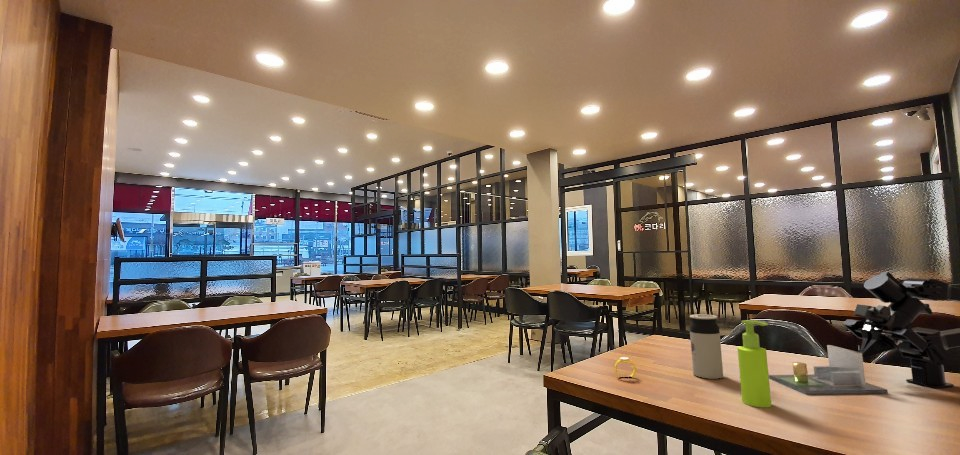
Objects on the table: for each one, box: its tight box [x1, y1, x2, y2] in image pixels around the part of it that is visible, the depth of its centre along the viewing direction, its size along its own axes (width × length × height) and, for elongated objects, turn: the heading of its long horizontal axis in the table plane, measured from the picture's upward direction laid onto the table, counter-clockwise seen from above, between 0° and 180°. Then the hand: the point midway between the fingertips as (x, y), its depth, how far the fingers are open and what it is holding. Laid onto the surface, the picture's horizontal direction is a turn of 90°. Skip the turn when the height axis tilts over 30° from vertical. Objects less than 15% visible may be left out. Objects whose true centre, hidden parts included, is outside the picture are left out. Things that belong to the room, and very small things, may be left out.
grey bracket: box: [813, 344, 867, 386], centre depth 108 cm, size 6×10×8 cm, turn 177°
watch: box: [614, 356, 637, 378], centre depth 121 cm, size 6×3×6 cm, turn 80°
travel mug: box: [689, 313, 724, 380], centre depth 121 cm, size 8×8×18 cm
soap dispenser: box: [737, 319, 772, 408], centre depth 97 cm, size 6×7×20 cm
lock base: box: [768, 361, 889, 396], centre depth 108 cm, size 20×14×6 cm
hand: (861, 356), depth 108 cm, fingers closed
